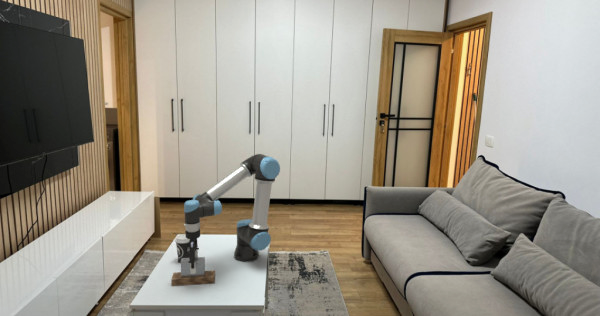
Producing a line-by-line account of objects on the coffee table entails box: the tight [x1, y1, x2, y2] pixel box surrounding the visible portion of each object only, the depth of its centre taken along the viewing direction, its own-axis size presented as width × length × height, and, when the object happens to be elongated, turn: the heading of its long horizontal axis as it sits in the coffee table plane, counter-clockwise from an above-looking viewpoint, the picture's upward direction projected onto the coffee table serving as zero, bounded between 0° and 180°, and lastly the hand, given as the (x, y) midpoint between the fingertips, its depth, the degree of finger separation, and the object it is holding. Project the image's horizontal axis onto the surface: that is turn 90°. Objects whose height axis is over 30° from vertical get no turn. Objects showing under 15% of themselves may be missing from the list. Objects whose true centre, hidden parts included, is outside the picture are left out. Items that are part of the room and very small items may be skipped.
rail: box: [170, 270, 216, 287], centre depth 214 cm, size 22×8×4 cm, turn 100°
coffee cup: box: [174, 233, 190, 264], centre depth 237 cm, size 10×10×15 cm
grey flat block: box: [180, 256, 206, 277], centre depth 213 cm, size 12×4×12 cm, turn 100°
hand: (194, 267), depth 214 cm, fingers open, 13 cm apart
